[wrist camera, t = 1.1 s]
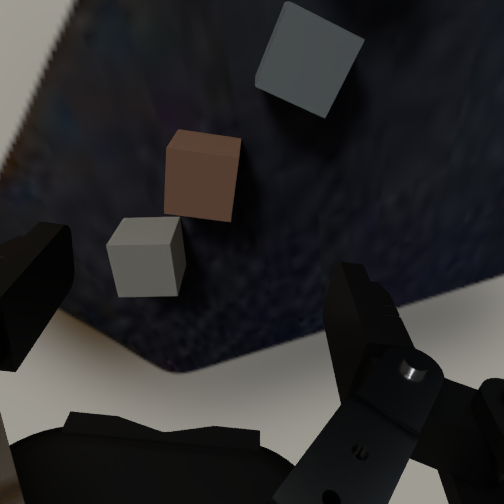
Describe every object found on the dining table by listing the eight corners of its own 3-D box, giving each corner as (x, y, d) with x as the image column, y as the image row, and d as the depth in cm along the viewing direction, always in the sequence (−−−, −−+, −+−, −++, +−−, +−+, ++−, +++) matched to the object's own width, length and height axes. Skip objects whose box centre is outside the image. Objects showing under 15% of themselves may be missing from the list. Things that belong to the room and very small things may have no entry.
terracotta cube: (241, 138, 33) (239, 158, 28) (233, 196, 35) (230, 222, 31) (178, 129, 32) (166, 147, 28) (175, 188, 35) (163, 213, 31)
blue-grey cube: (348, 35, 29) (364, 39, 25) (315, 103, 31) (324, 118, 27) (284, 2, 28) (289, 1, 24) (255, 75, 30) (255, 86, 26)
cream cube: (180, 216, 36) (169, 244, 32) (186, 264, 39) (177, 295, 34) (123, 217, 36) (106, 245, 32) (133, 265, 39) (118, 297, 35)
